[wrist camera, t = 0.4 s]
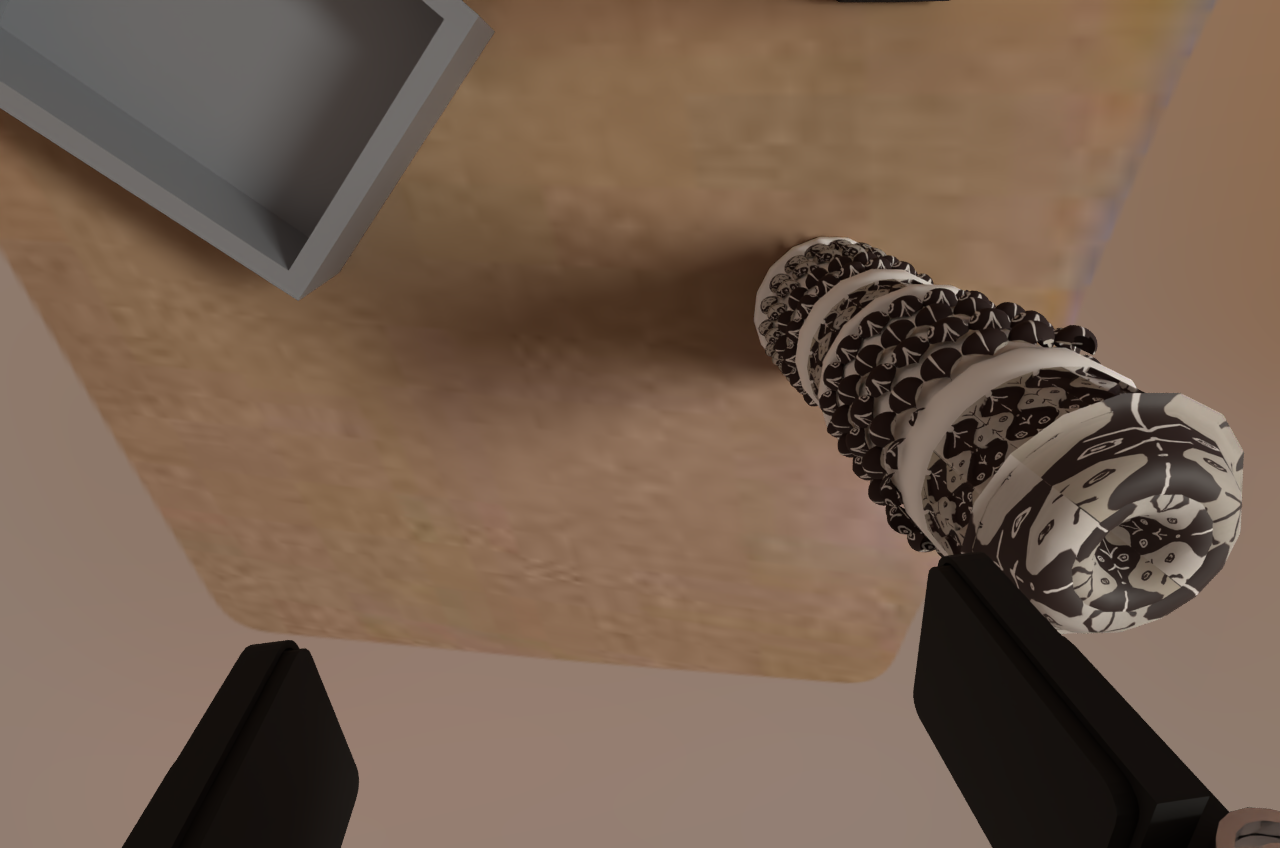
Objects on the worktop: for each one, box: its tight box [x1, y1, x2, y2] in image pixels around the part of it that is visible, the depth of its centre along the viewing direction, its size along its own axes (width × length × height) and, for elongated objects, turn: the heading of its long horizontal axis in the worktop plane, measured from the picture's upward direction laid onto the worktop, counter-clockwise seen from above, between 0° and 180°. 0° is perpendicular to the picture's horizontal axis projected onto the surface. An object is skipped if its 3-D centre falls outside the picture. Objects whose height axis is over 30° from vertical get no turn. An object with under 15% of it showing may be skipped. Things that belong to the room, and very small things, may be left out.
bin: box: [0, 0, 495, 301], centre depth 29 cm, size 15×18×6 cm
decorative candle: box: [754, 237, 1244, 634], centre depth 29 cm, size 9×9×25 cm
